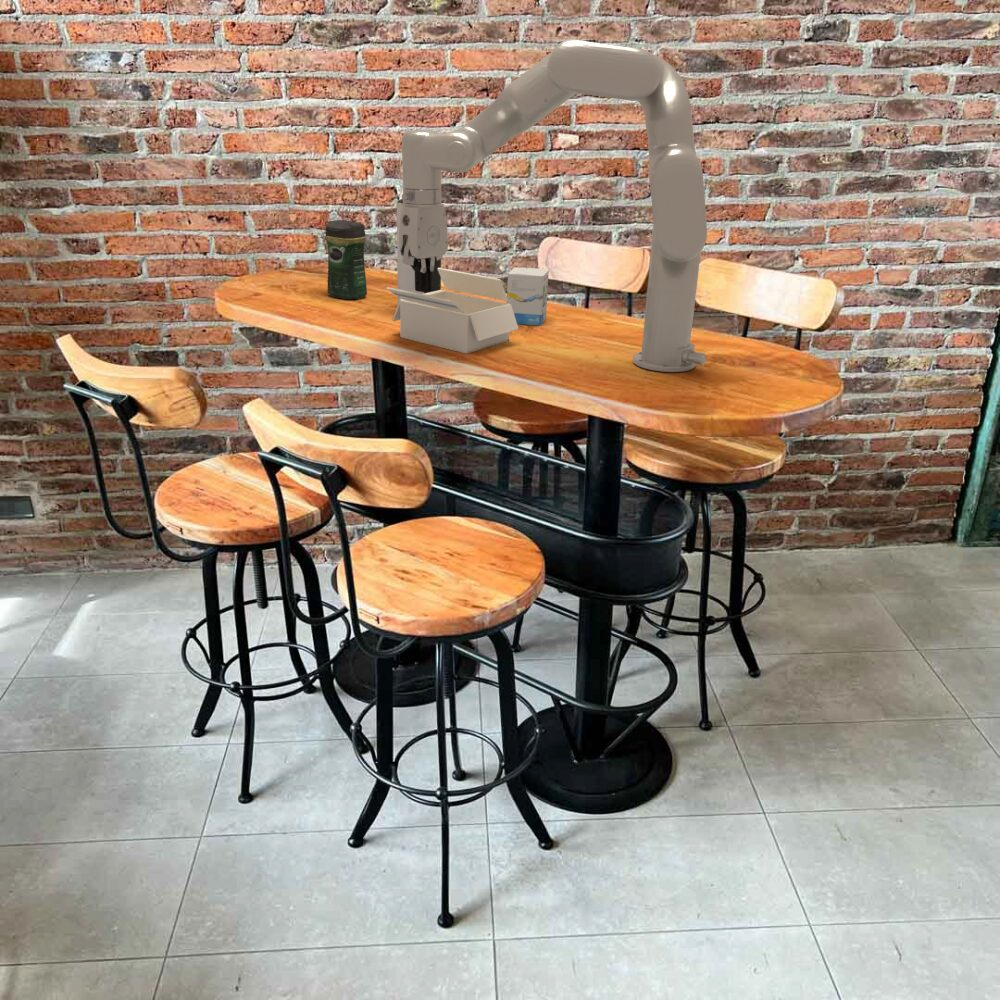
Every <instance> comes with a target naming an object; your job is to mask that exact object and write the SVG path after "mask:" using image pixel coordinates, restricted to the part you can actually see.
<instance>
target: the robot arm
mask: <svg viewBox="0 0 1000 1000" xmlns="http://www.w3.org/2000/svg"><path fill="white" fill-rule="evenodd" d="M577 94H582V95H589V96H595V97H603V98H608V99H609V98H610V99H617V100H623V101H630V102H638V103H639V105H640V106H641V108H642V111H643V113H644V120H645V121H644V123H645V129H646V130H645V131H646V136H647V147H648V162H649V163H648V170H647V171H648V175H647V176H648V180H649V181H648V182H649V188H650V198H651V199H650V200H651V207H652V218H653V220H652V221H653V223H652V232H651V246H650V247H651V248H650V262H649V274H648V283H647V291H646V292H647V293H646V300H645V301H646V303H645V313H644V322H643V333H642V342H641V343H642V344H641V351H639V352H637V353H635V354H634V355H633V357H632V362H633V363H634V365H635V366H637V367H640V368H641V369H645V370H649V371H655V372H660V373H661V372H662V373H663V372H665V373H682V372H688V371H691V370H693V369H694V368H695V367H696V365H701V366H704V365H705V364H706V360H707V356H706V353H704V352H699V351H698V352H697V351H696V350H695V343H691V337H692V329H693V321H694V313H695V303H696V295H697V289H698V281H699V270H700V261H701V252H702V251H703V249H704V247H705V245H706V242H707V239H708V223H707V209H706V208H707V207H706V195H705V183H704V182H705V181H704V180H705V179H704V174H703V173H704V172H703V167H702V163H701V162H700V161H701V160H700V159H699V158H698V155H697V153H696V144H695V134H694V126H693V117H692V109H691V108H692V107H691V103H690V102H691V101H690V98H689V93H688V90H687V87H686V84H685V82H684V81H683V79H682V77H681V76H680V74H679V72H678V71H677V70H676V69H675V68H674V67H673V66H672V65H671V64H670V63H669V62H668V61H666V60H665V59H664V58H662V57H659V56H658V55H656V54H654V53H652V52H650V51H648V50H647V49H643V48H638V47H628V46H622V45H621V46H620V45H614V44H607V43H598V42H594V41H587V40H582V39H579V38H578V39H577V38H569V39H565V40H564V41H561V42H559V43H558V44H557V45H556V46H554V48H553V49H552V51H551V52H549V53H548V54H547V55H546V56H545V57H543V58H542V59H541V60H539V61H538V62H537V63H536V64H534V65H533V66H532V67H530V68H529V69H528V70H526V71H525V72H524V73H523V74H521V75H520V76H518V77H517V78H515V79H514V80H513V81H512V82H511V83H508V85H507V86H505V87H504V88H503V90H502V91H501V92H500V93H499V94H498V95H497V97H496V98H495V100H493V101H492V102H491V103H490V105H488V106H487V107H486V108H484V109H483V110H482V111H481V112H479V113H478V114H477V115H476V116H474V117H473V118H471V119H470V120H469V121H468V122H466V123H465V124H464V125H462V126H460V128H458V129H456V130H453V131H447V132H438V131H435V130H430V129H409V130H406V131H404V133H403V134H402V137H401V153H402V154H401V162H402V163H401V164H402V168H401V169H402V194H401V199H403V206H402V210H401V217H400V231H399V246H400V253H401V255H402V256H403V264H407V265H410V266H411V267H412V270H413V271H415V290H416V291H419V292H425V293H426V292H431V291H432V272H431V271H433V270H434V264H435V263H436V261H438V260H439V259H441V260H442V259H443V256H444V255H445V254H446V253H447V252H448V250H449V235H448V234H449V233H448V232H449V231H448V221H447V214H446V208H445V206H444V205H445V204H444V203H442V171H444V172H449V173H453V174H454V173H455V174H462V173H466V172H468V171H470V170H471V169H473V168H474V167H477V165H478V164H480V163H481V162H482V161H484V160H485V159H486V158H488V157H489V156H490V155H492V154H493V153H495V152H496V151H498V149H500V148H501V147H503V146H504V145H506V144H507V143H508V142H509V141H510V140H512V139H513V138H515V137H516V136H519V135H520V134H522V133H523V132H526V131H528V130H529V129H531V128H532V127H533V126H535V125H536V124H537V123H539V122H540V121H541V120H543V119H544V118H546V117H547V116H548V115H550V114H551V113H552V112H553V111H555V110H556V109H557V108H559V107H560V106H562V105H563V104H564V103H566V102H567V101H569V100H570V99H571V98H572V97H574V96H575V95H577ZM418 260H419V261H418Z"/></svg>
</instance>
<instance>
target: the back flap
mask: <svg viewBox="0 0 1000 1000" xmlns="http://www.w3.org/2000/svg"><path fill="white" fill-rule="evenodd" d="M438 271H439V274H440V277H441V283H442V284H443V287H444V289H445V290H449V291H456V292H458V293H465V294H470V295H475V296H478V297H479V296H480V297H485V298H489V299H494V300H500V301H504V302H505V301H506V302H507V300H508V299H507V292H506V290H505V288H504V284H503V282H502V279H501V278H496V277H491V276H485V275H480V274H474V273H469V272H464V271H459V270H453V269H448V268H442V267H441V268H438Z"/></svg>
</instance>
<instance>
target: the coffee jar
mask: <svg viewBox="0 0 1000 1000" xmlns="http://www.w3.org/2000/svg"><path fill="white" fill-rule="evenodd" d="M366 238H367V237H366V229H365V226H364V224H363V223H362V222H357V221H352V220H348V219H347V220H345V219H337V220H336V219H335V220H329V221H328V222H327V223H326V227H325V240H326V245H327V254H328V255H327V256H328V257H327V259H328V262H327V263H328V264H327V266H328V267H327V295H329V296H330V297H334V298H338V299H341V300H351V299H356V300H359V299H363V298H365V297H366V296H367V294H368V290H367V289H368V288H367V287H368V285H367V278H366V277H367V276H366V267H365V253H364V251H365V250H364V249H365V243H366Z"/></svg>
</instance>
